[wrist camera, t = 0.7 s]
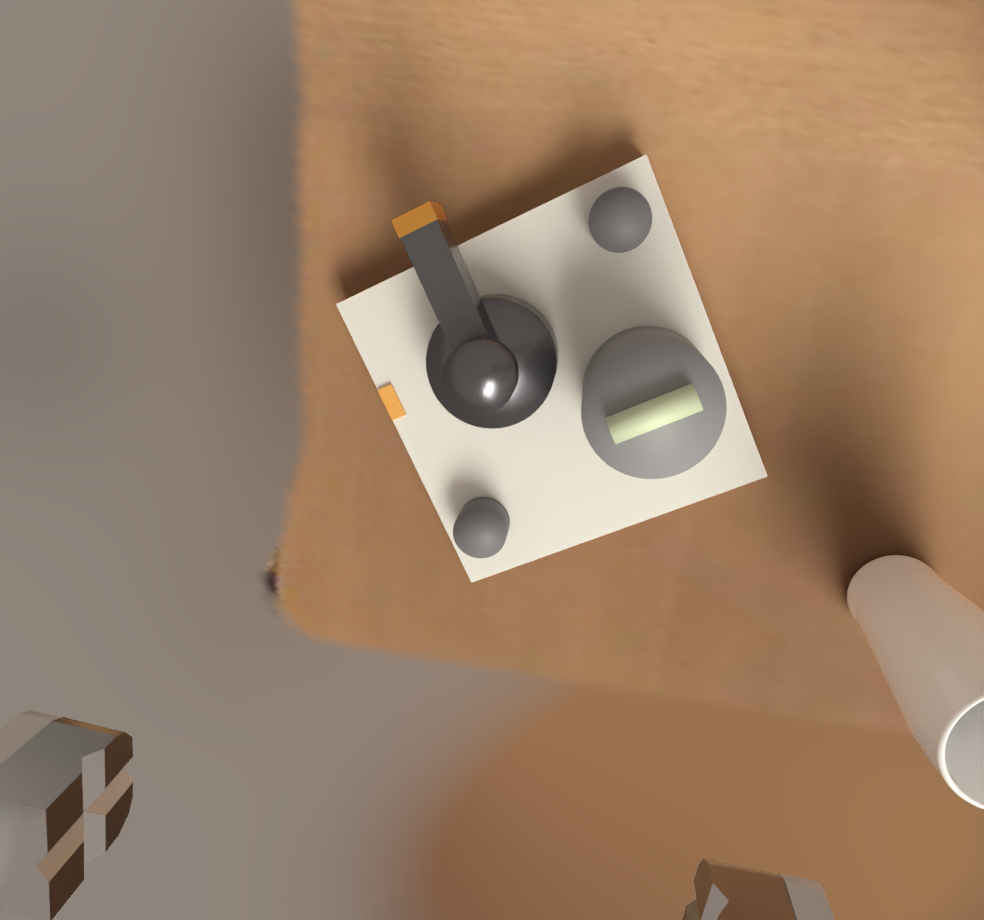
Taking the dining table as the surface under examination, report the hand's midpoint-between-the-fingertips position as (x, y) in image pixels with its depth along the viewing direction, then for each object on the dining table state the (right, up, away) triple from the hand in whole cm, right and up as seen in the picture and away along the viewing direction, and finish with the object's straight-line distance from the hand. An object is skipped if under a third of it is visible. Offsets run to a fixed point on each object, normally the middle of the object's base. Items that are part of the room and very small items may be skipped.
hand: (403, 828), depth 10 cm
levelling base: (+5, +10, +34) cm, 36 cm away
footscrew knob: (0, +13, +31) cm, 34 cm away
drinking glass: (+26, -3, +35) cm, 44 cm away
